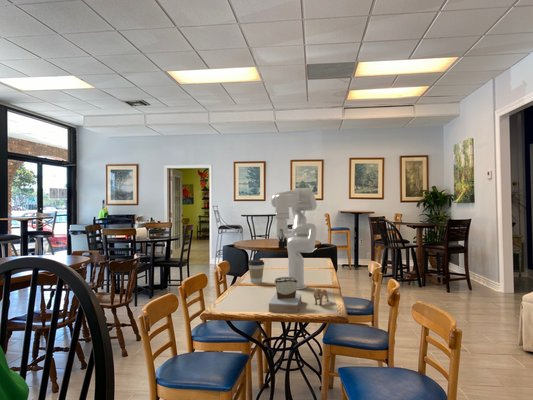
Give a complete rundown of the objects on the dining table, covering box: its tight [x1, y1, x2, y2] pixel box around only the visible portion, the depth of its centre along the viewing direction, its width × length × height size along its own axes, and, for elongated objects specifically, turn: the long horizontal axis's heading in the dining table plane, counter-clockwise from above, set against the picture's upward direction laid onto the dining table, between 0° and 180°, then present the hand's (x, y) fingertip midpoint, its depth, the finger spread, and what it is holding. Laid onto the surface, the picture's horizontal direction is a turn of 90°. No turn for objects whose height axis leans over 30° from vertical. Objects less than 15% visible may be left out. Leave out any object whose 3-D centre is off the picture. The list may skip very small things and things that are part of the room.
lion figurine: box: [313, 287, 330, 306], centre depth 181 cm, size 15×5×9 cm, turn 154°
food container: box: [274, 276, 298, 299], centre depth 179 cm, size 12×6×10 cm, turn 97°
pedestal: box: [268, 292, 302, 314], centre depth 177 cm, size 20×14×4 cm
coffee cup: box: [247, 258, 265, 285], centre depth 232 cm, size 11×11×15 cm
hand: (282, 247), depth 191 cm, fingers open, 9 cm apart
